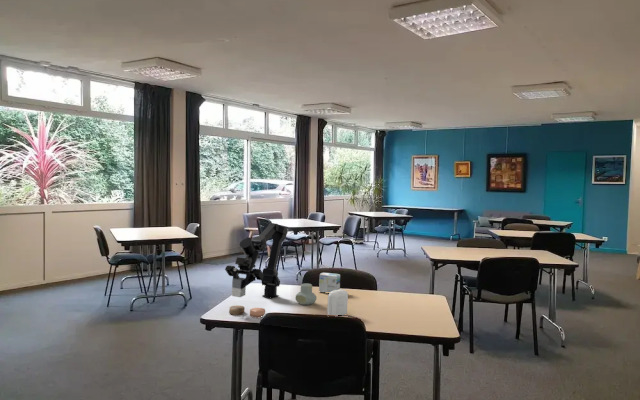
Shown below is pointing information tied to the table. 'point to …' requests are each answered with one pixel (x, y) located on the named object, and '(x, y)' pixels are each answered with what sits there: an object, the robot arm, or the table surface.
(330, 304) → the photo printer
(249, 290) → the table surface
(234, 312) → the stand
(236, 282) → the plate
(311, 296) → the grey plastic tee piece
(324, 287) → the light bulb box
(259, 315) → the stand
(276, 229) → the robot arm
